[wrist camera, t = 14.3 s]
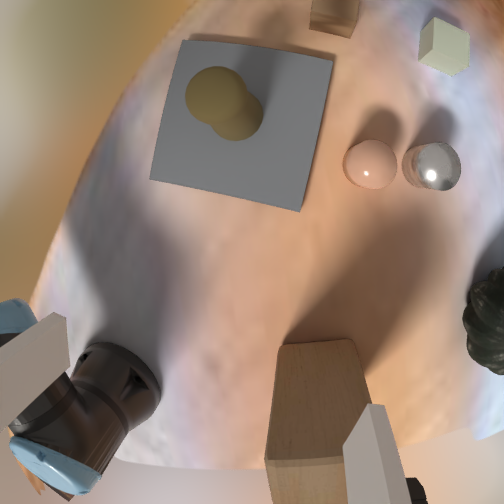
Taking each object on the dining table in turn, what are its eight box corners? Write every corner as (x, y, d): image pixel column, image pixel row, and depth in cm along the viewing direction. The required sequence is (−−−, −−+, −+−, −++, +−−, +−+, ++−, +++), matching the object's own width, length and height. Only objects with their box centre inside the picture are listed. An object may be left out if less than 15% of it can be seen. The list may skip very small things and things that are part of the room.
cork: (270, 131, 33) (260, 111, 22) (218, 148, 34) (186, 137, 23) (253, 83, 31) (236, 46, 21) (203, 100, 33) (166, 73, 22)
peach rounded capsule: (338, 180, 34) (345, 181, 30) (347, 138, 33) (355, 133, 28) (378, 192, 34) (391, 194, 29) (387, 151, 33) (401, 148, 28)
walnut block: (309, 29, 30) (310, 10, 25) (315, 0, 29) (316, -21, 24) (349, 38, 30) (356, 21, 25) (354, 9, 29) (360, -11, 24)
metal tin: (397, 180, 33) (416, 182, 28) (406, 140, 32) (425, 135, 26) (433, 193, 33) (455, 196, 27) (441, 154, 32) (464, 151, 26)
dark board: (154, 179, 37) (149, 179, 36) (186, 44, 32) (182, 39, 31) (299, 210, 36) (299, 212, 34) (331, 65, 31) (333, 61, 30)
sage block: (417, 61, 29) (432, 48, 24) (420, 31, 28) (434, 16, 23) (451, 76, 29) (469, 66, 24) (452, 46, 28) (469, 34, 23)
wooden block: (283, 399, 42) (272, 513, 23) (277, 341, 40) (261, 460, 21) (352, 393, 41) (372, 505, 21) (353, 334, 38) (387, 449, 19)
